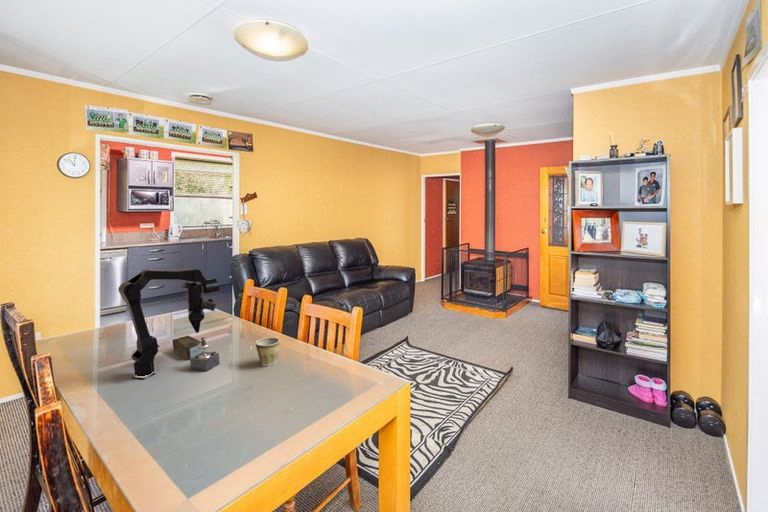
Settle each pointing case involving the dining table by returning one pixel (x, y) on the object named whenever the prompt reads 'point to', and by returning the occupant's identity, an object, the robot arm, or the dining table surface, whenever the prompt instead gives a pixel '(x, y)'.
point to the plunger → (203, 346)
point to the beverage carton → (187, 346)
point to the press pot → (204, 362)
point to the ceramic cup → (268, 351)
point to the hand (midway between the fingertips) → (197, 329)
